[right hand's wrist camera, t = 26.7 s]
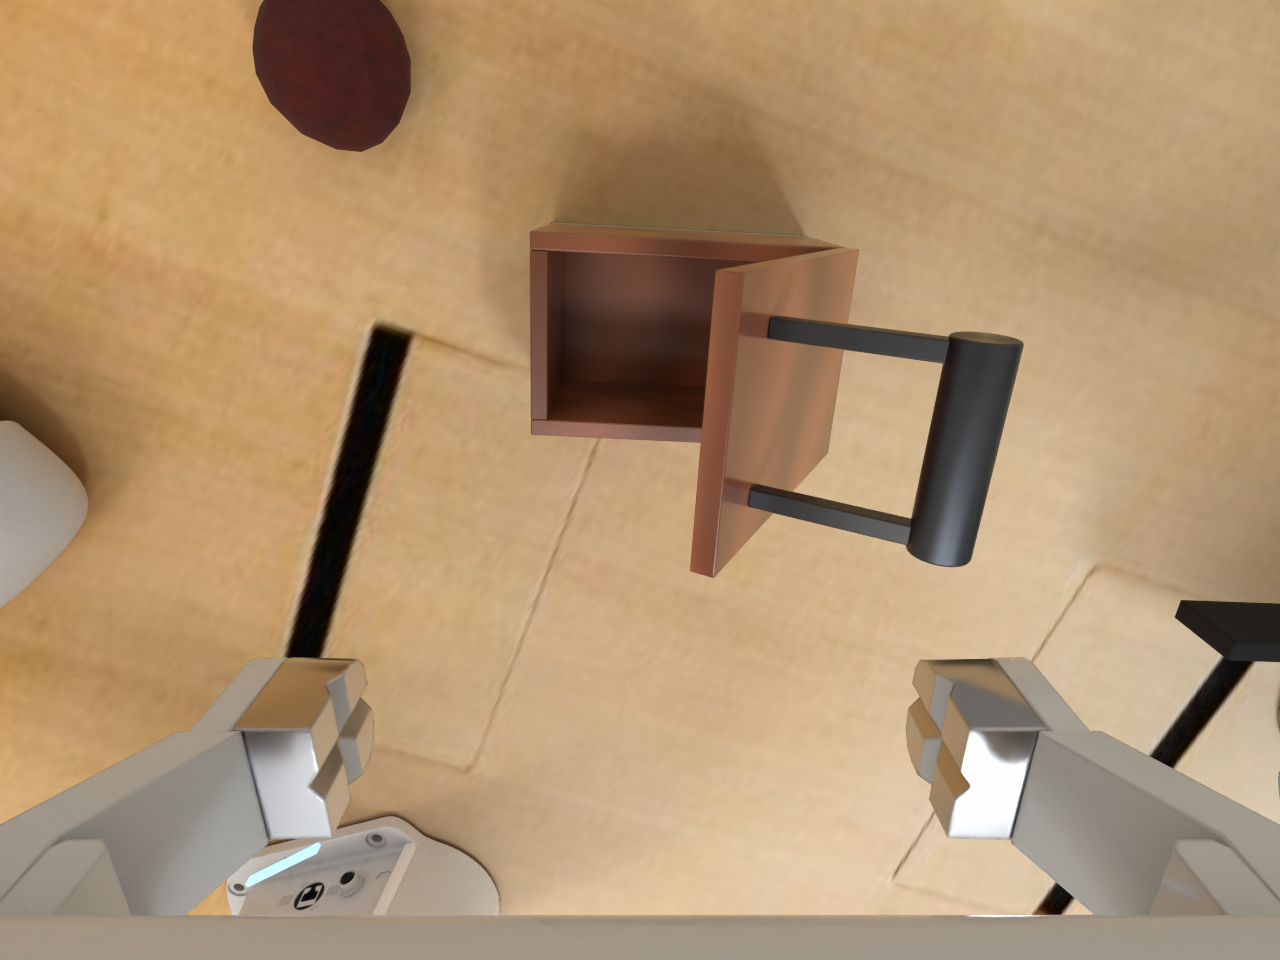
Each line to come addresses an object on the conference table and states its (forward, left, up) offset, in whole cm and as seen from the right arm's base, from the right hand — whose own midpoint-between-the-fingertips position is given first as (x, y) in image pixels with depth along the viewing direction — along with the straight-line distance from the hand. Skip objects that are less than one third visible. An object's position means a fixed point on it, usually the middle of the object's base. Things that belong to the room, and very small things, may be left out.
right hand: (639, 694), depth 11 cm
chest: (+2, 0, -36) cm, 36 cm away
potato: (-14, +14, -36) cm, 41 cm away
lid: (+5, -1, -20) cm, 20 cm away
